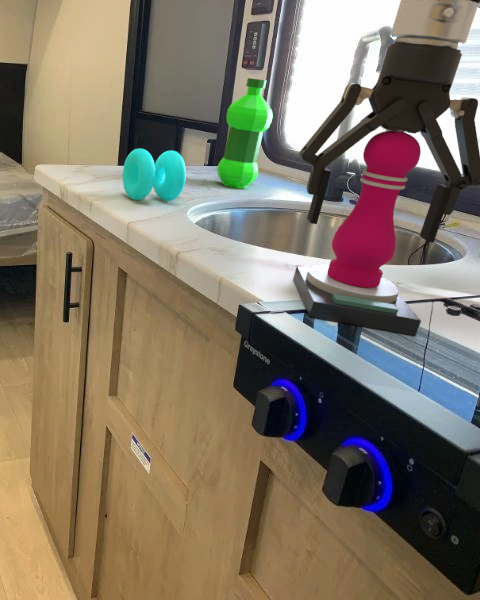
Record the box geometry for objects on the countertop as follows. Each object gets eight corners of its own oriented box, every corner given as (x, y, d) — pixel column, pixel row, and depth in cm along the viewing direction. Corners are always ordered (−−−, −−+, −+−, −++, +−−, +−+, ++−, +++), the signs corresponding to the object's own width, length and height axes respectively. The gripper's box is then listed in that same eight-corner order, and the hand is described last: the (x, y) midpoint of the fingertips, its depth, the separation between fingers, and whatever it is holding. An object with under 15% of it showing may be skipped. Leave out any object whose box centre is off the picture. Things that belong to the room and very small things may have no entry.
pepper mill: (366, 293, 72) (421, 121, 64) (312, 273, 77) (357, 111, 69) (392, 285, 76) (447, 123, 69) (340, 266, 81) (386, 114, 74)
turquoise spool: (183, 206, 119) (193, 156, 115) (138, 205, 115) (147, 153, 111) (159, 194, 127) (167, 146, 123) (117, 193, 123) (124, 143, 120)
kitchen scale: (382, 294, 82) (389, 274, 81) (415, 336, 69) (424, 312, 68) (293, 279, 83) (298, 259, 82) (308, 317, 71) (315, 293, 69)
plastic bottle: (205, 180, 151) (226, 75, 142) (241, 182, 154) (264, 80, 145) (225, 189, 142) (249, 78, 133) (263, 191, 146) (289, 83, 136)
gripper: (315, 29, 64) (268, 220, 72) (567, 57, 61) (489, 255, 69) (304, 33, 71) (263, 207, 79) (530, 59, 68) (463, 238, 76)
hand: (368, 230), depth 74 cm, fingers open, 13 cm apart
